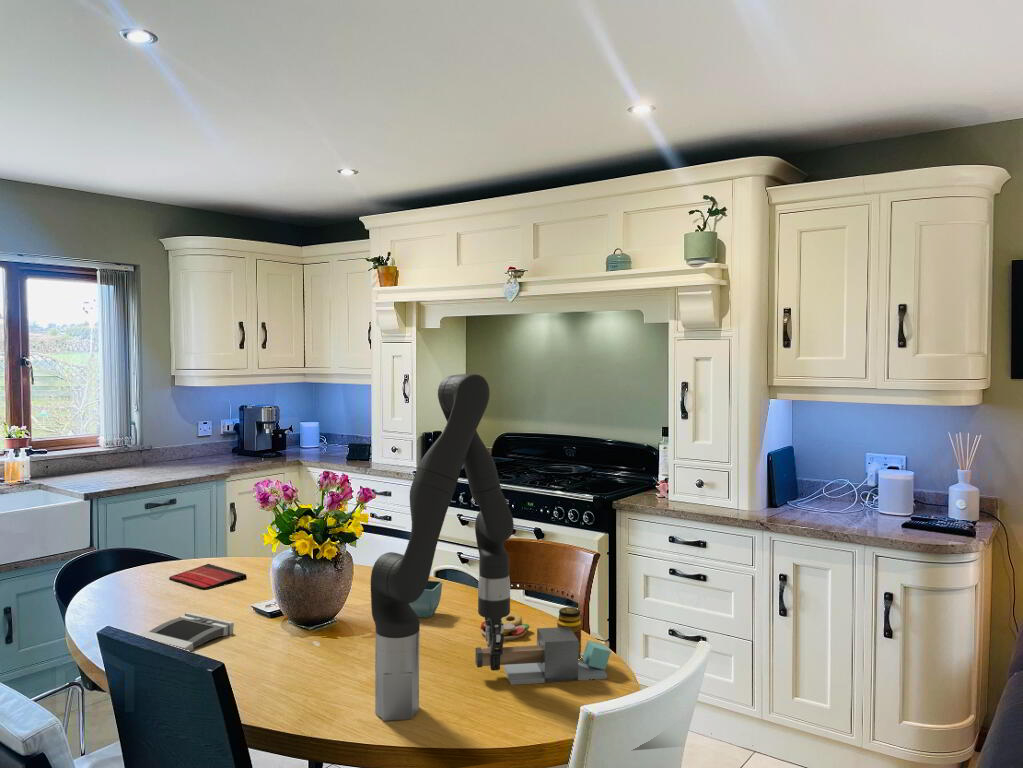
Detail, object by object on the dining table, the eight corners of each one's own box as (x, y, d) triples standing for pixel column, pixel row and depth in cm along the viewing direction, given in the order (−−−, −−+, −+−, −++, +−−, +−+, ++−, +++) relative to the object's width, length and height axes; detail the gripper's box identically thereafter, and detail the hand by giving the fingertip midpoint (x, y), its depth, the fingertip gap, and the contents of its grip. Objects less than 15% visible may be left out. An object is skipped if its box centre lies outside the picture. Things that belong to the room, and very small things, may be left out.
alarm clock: (233, 622, 206) (184, 637, 191) (232, 639, 206) (182, 656, 191) (188, 612, 214) (137, 625, 199) (187, 629, 213) (136, 643, 199)
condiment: (575, 664, 188) (575, 616, 188) (544, 657, 192) (545, 610, 192) (587, 654, 194) (587, 607, 194) (557, 648, 199) (557, 602, 198)
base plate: (606, 678, 180) (607, 674, 180) (510, 684, 176) (510, 680, 176) (596, 663, 189) (596, 659, 189) (504, 668, 185) (504, 664, 185)
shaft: (574, 661, 181) (574, 647, 181) (477, 667, 177) (477, 653, 177) (570, 656, 185) (571, 642, 185) (475, 661, 181) (475, 647, 181)
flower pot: (403, 618, 219) (403, 587, 219) (414, 608, 228) (414, 578, 227) (432, 621, 217) (432, 590, 217) (442, 611, 225) (442, 581, 225)
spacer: (588, 665, 182) (605, 669, 183) (593, 647, 182) (610, 651, 183) (582, 658, 186) (598, 662, 187) (587, 640, 186) (604, 644, 187)
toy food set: (517, 622, 218) (517, 611, 218) (536, 638, 206) (536, 626, 206) (473, 628, 213) (473, 616, 213) (490, 645, 200) (490, 633, 200)
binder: (208, 562, 267) (247, 573, 255) (209, 569, 267) (247, 580, 256) (166, 575, 254) (204, 587, 242) (166, 582, 254) (204, 594, 242)
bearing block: (578, 680, 179) (578, 640, 178) (544, 682, 177) (545, 642, 177) (568, 665, 188) (569, 626, 187) (536, 666, 186) (537, 628, 186)
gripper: (515, 602, 173) (515, 678, 174) (505, 584, 187) (504, 653, 187) (482, 604, 171) (482, 680, 172) (474, 585, 185) (474, 655, 186)
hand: (494, 666), depth 180 cm, fingers closed on shaft, 3 cm apart
